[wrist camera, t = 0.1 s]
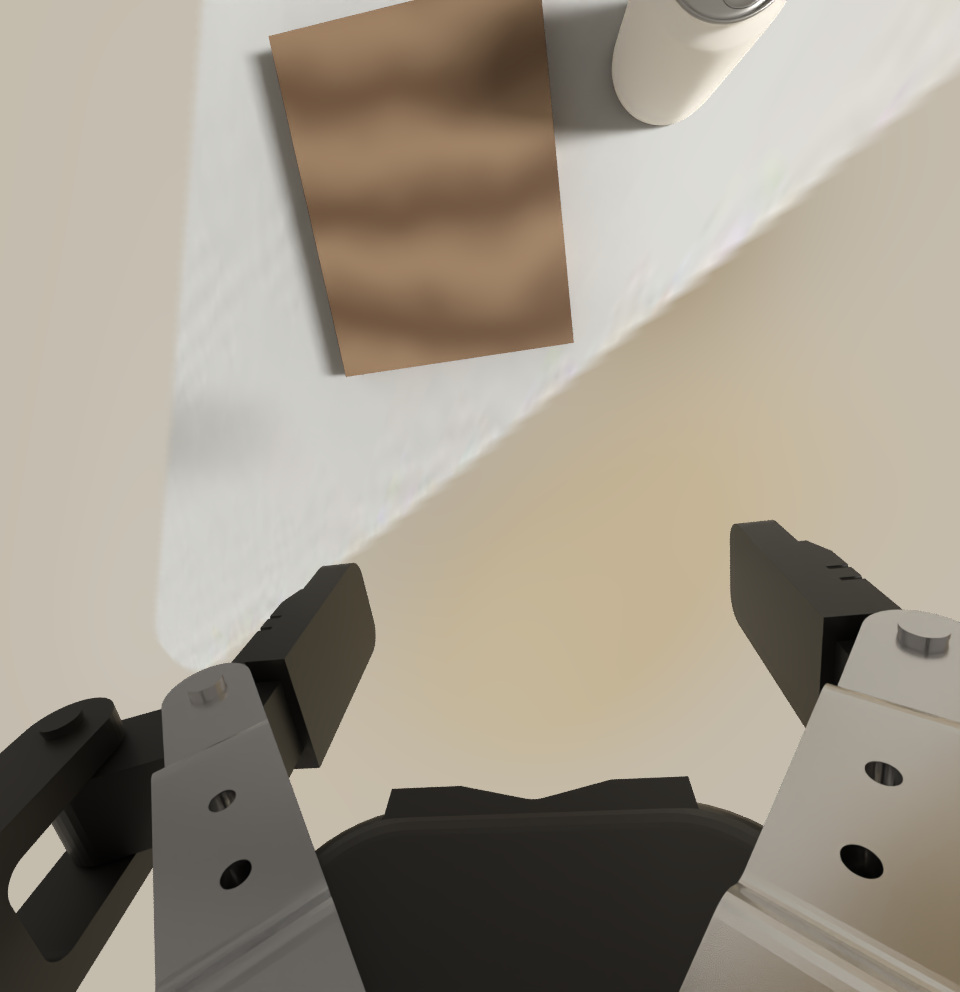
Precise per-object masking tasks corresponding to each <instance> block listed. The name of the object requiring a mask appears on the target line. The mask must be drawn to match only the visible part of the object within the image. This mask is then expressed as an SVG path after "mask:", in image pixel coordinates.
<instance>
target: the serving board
mask: <svg viewBox="0 0 960 992" xmlns="http://www.w3.org/2000/svg"><path fill="white" fill-rule="evenodd" d="M269 40H270V45H271V49H272V54H273V58H274V62H275V67H276V71H277V76H278V80H279V84H280V89H281V93H282V97H283V102H284V106H285V111H286V115H287V119H288V124H289V128H290V133H291V137H292V141H293V146H294V150H295V155H296V159H297V163H298V168H299V172H300V177H301V181H302V185H303V190H304V194H305V198H306V203H307V207H308V212H309V216H310V220H311V225H312V229H313V234H314V238H315V242H316V247H317V251H318V256H319V260H320V264H321V269H322V273H323V278H324V282H325V286H326V291H327V295H328V299H329V304H330V308H331V313H332V317H333V321H334V326H335V330H336V335H337V339H338V343H339V348H340V352H341V357H342V361H343V365H344V370H345V374H346V377H348V376H354V375H361V374H368V373H374V372H381V371H388V370H394V369H401V368H408V367H414V366H421V365H428V364H434V363H441V362H448V361H454V360H461V359H468V358H474V357H481V356H488V355H495V354H501V353H508V352H515V351H521V350H528V349H535V348H541V347H548V346H555V345H561V344H568V343H574V341H573V331H572V320H571V309H570V298H569V288H568V277H567V266H566V255H565V245H564V234H563V223H562V213H561V202H560V191H559V180H558V170H557V159H556V148H555V137H554V127H553V116H552V105H551V94H550V84H549V73H548V62H547V52H546V41H545V30H544V19H543V9H542V0H413V1H409V2H405V3H401V4H397V5H393V6H389V7H385V8H381V9H377V10H373V11H369V12H365V13H361V14H357V15H352V16H348V17H344V18H340V19H336V20H332V21H328V22H324V23H320V24H316V25H312V26H308V27H304V28H300V29H296V30H292V31H288V32H284V33H280V34H276V35H272V36H269Z"/></svg>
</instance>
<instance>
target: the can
mask: <svg viewBox="0 0 960 992" xmlns="http://www.w3.org/2000/svg"><path fill="white" fill-rule="evenodd" d="M786 1H787V0H628V4H627V7H626V10H625V14H624V17H623V20H622V24H621V27H620V30H619V34H618V37H617V41H616V44H615V48H614V53H613V59H612V79H613V84H614V88H615V91H616V94H617V96H618V99H619V100H620V102H621V104H622V105H623V107H624V108H625V109H626V110H627V111H628V112H629V113H630V114H631V115H632V116H633V117H635V118H636V119H638V120H640V121H642V122H644V123H648V124H652V125H669V124H674V123H677V122H679V121H681V120H683V119H685V118H687V117H688V116H690V115H691V114H692V113H694V112H695V111H696V110H697V109H698V108H699V107H700V106H701V105H702V104H703V103H704V102H705V101H706V100H707V99H708V98H709V97H710V96H711V95H712V93H713V92H714V91H715V90H716V89H717V88H718V86H719V85H720V84H721V83H722V82H723V81H724V79H725V78H726V77H727V76H728V75H729V73H730V72H731V71H732V70H733V69H734V68H735V66H736V65H737V64H738V63H739V62H740V60H741V59H742V58H743V57H744V56H745V54H746V53H747V52H748V51H749V50H750V48H751V47H752V46H753V45H754V44H755V42H756V41H757V40H758V39H759V38H760V36H761V35H762V34H763V33H764V31H765V30H766V29H767V28H768V27H769V25H770V24H771V23H772V21H773V20H774V19H775V18H776V16H777V15H778V13H779V12H780V11H781V9H782V8H783V6H784V4H785V3H786Z"/></svg>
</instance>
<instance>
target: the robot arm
mask: <svg viewBox="0 0 960 992" xmlns="http://www.w3.org/2000/svg"><path fill="white" fill-rule="evenodd" d="M730 589H731V590H730V591H731V602H732V607H733V611H734V614H735V617H736V620H737V621H738V623H739V625H740V627H741V628H742V630H743V631H744V633H745V634H746V636H747V638H748V639H749V641H750V642H751V644H752V645H753V647H754V648H755V650H756V652H757V653H758V655H759V656H760V658H761V659H762V661H763V663H764V664H765V666H766V667H767V669H768V670H769V672H770V673H771V675H772V677H773V678H774V680H775V681H776V683H777V684H778V686H779V688H780V689H781V690H782V692H783V694H784V695H785V697H786V698H787V700H788V702H789V703H790V705H791V706H792V708H793V709H794V711H795V712H796V714H797V716H798V717H799V719H800V720H801V722H802V723H803V725H804V726H805V731H804V733H803V735H802V738H801V740H800V742H799V745H798V747H797V750H796V752H795V754H794V757H793V759H792V761H791V763H790V766H789V768H788V771H787V773H786V775H785V778H784V780H783V782H782V784H781V787H780V789H779V791H778V794H777V796H776V798H775V801H774V803H773V805H772V808H771V810H770V812H769V815H768V817H767V819H766V822H765V824H764V826H763V825H761V824H759V823H757V822H755V821H753V820H751V819H748V818H746V817H743V816H741V815H738V814H736V813H733V812H731V811H728V810H724V809H721V808H717V807H714V806H710V805H706V804H701V803H697V802H696V799H695V796H694V793H693V790H692V787H691V784H690V781H689V778H688V776H685V777H663V778H638V779H614V780H608V781H604V782H601V783H597V784H593V785H589V786H586V787H582V788H579V789H575V790H571V791H568V792H564V793H560V794H557V795H553V796H549V797H545V798H541V799H525V798H519V797H514V796H509V795H504V794H499V793H494V792H489V791H483V790H478V789H473V788H468V787H462V786H452V787H427V788H404V789H392V791H391V795H390V798H389V801H388V805H387V808H386V811H385V814H384V815H381V816H377V817H375V818H372V819H370V820H367V821H364V822H362V823H360V824H357V825H355V826H354V827H351V828H350V829H348V830H345V831H344V832H342V833H340V834H339V835H337V836H336V837H334V838H333V839H331V840H329V841H328V842H326V843H325V844H324V845H322V846H321V847H320V848H318V849H317V850H316V851H315V850H314V847H313V844H312V841H311V839H310V836H309V833H308V830H307V827H306V825H305V822H304V819H303V816H302V814H301V811H300V808H299V805H298V803H297V799H296V797H295V794H294V792H293V788H292V785H291V783H290V780H289V777H290V775H291V773H292V771H293V769H303V768H319V767H320V766H321V764H322V761H323V759H324V757H325V755H326V753H327V750H328V748H329V746H330V744H331V742H332V740H333V738H334V736H335V733H336V731H337V729H338V727H339V725H340V722H341V720H342V718H343V716H344V713H345V712H346V709H347V707H348V705H349V703H350V701H351V699H352V696H353V694H354V692H355V690H356V688H357V685H358V683H359V681H360V679H361V677H362V674H363V672H364V670H365V668H366V666H367V664H368V662H369V659H370V657H371V655H372V652H373V650H374V646H375V624H374V620H373V616H372V612H371V608H370V605H369V600H368V596H367V592H366V589H365V585H364V581H363V577H362V573H361V570H360V568H359V567H358V565H357V564H356V563H349V564H339V565H330V566H322V567H321V568H320V569H319V570H318V571H317V572H316V574H315V575H314V576H313V577H312V579H311V580H310V581H309V582H308V584H307V585H306V586H305V587H304V589H301V590H299V591H298V592H296V593H295V594H293V595H292V596H291V597H289V598H288V599H286V600H285V601H283V602H282V603H281V604H280V605H279V607H278V608H277V609H276V610H275V611H274V612H273V614H272V615H271V616H270V619H268V620H267V621H266V622H265V623H264V624H263V626H262V627H261V631H258V632H257V633H256V634H255V635H254V636H253V637H252V639H251V640H250V641H249V642H248V643H247V645H246V646H245V647H244V648H243V649H242V651H241V652H240V653H239V654H238V655H237V657H236V658H235V659H234V660H233V661H232V662H231V663H224V664H220V665H216V666H212V667H209V668H206V669H204V670H201V671H199V672H197V673H195V674H193V675H191V676H190V677H188V678H186V679H185V680H183V681H182V682H181V683H179V684H178V685H177V686H175V687H174V688H173V689H172V690H171V691H170V692H169V693H168V694H167V696H166V697H165V699H164V701H163V703H162V708H161V709H160V710H157V711H153V712H149V713H146V714H142V715H139V716H136V717H131V718H128V719H125V720H121V719H120V717H119V715H118V712H117V710H116V708H115V706H114V704H113V702H112V701H111V700H110V699H107V698H91V699H86V700H82V701H79V702H76V703H73V704H70V705H68V706H65V707H63V708H61V709H59V710H57V711H55V712H53V713H51V714H49V715H47V716H46V717H44V718H43V719H41V720H40V721H38V722H37V723H35V724H34V725H32V726H31V727H30V728H29V729H27V730H26V731H25V732H24V733H23V734H21V736H19V737H18V738H17V739H16V740H15V741H14V742H13V743H11V744H10V745H9V746H8V747H7V748H6V749H5V750H4V751H2V752H1V753H0V992H76V990H77V989H78V987H79V986H80V984H81V982H82V981H83V979H84V978H85V976H86V974H87V973H88V971H89V969H90V968H91V966H92V965H93V963H94V961H95V960H96V958H97V957H98V955H99V953H100V951H101V950H102V949H103V947H104V945H105V944H106V942H107V940H108V939H109V937H110V936H111V934H112V932H113V931H114V929H115V927H116V926H117V924H118V923H119V921H120V919H121V918H122V916H123V915H124V913H125V911H126V910H127V908H128V906H129V905H130V903H131V902H132V900H133V899H134V897H135V895H136V893H137V892H138V890H139V889H140V887H141V886H142V884H143V882H144V881H145V879H146V878H147V876H148V874H149V873H150V871H151V869H152V868H153V893H154V938H155V986H156V987H155V992H960V622H958V621H955V620H953V619H950V618H947V617H944V616H940V615H937V614H932V613H928V612H922V611H915V610H902V609H901V608H900V607H899V606H897V605H896V604H895V603H894V602H892V601H891V600H890V599H889V598H888V597H886V596H885V595H884V594H883V593H882V592H880V591H879V590H878V589H877V588H876V587H874V586H873V585H872V584H871V583H870V582H868V581H867V580H866V579H862V577H861V575H860V574H859V573H858V572H856V571H855V570H854V569H853V568H851V567H848V564H847V563H845V562H844V561H843V560H842V559H841V558H840V557H838V556H837V555H836V554H835V553H833V552H832V551H831V550H828V549H825V548H823V547H821V546H818V545H816V544H814V543H811V542H809V541H797V540H796V539H795V538H794V537H793V536H792V535H790V534H789V533H788V532H787V531H786V530H785V529H784V528H782V526H780V525H779V524H778V523H777V522H776V521H774V520H768V521H759V522H750V523H739V524H734V525H733V526H732V528H731V533H730ZM51 823H52V825H53V827H54V829H55V830H56V832H57V834H58V836H59V838H60V839H61V841H62V843H63V845H64V847H65V849H66V852H65V853H64V854H63V856H62V857H61V858H60V859H59V860H58V862H57V863H56V864H55V866H54V867H53V868H52V869H51V871H50V872H49V873H48V874H47V875H46V877H45V878H44V879H43V880H42V882H41V883H40V884H39V885H38V887H37V888H36V889H35V890H34V892H33V893H32V894H31V895H30V897H29V898H28V899H27V901H26V902H25V903H24V904H23V906H22V907H21V908H20V909H19V910H18V912H17V913H15V912H14V910H13V908H12V907H11V905H10V903H9V900H8V885H9V881H10V878H11V875H12V873H13V870H14V868H15V867H16V865H17V864H18V862H19V861H20V859H21V858H22V857H23V856H24V854H25V853H26V852H27V851H28V850H29V849H30V847H31V846H32V845H33V844H34V843H35V842H36V841H37V839H38V838H39V837H40V836H41V835H42V833H44V831H45V830H46V829H47V828H48V827H49V826H50V825H51Z"/></svg>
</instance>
